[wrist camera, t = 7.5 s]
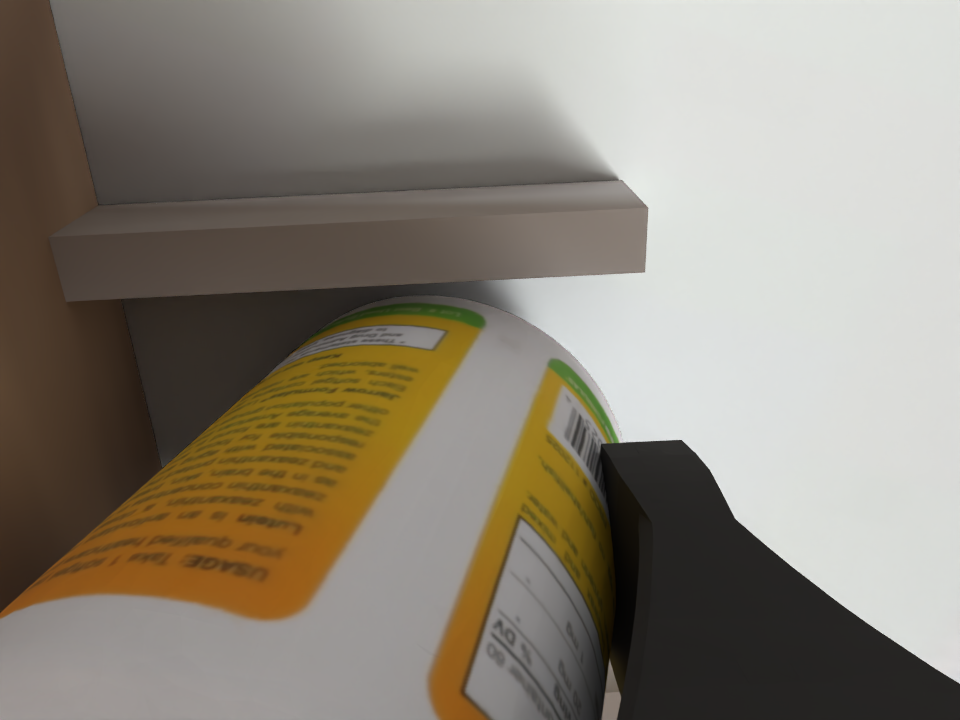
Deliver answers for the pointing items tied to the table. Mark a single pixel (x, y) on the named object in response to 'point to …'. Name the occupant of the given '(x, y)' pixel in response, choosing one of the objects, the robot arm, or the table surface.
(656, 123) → the table surface
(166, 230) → the long brown wooden brick
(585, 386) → the supplement bottle
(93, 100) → the table surface
